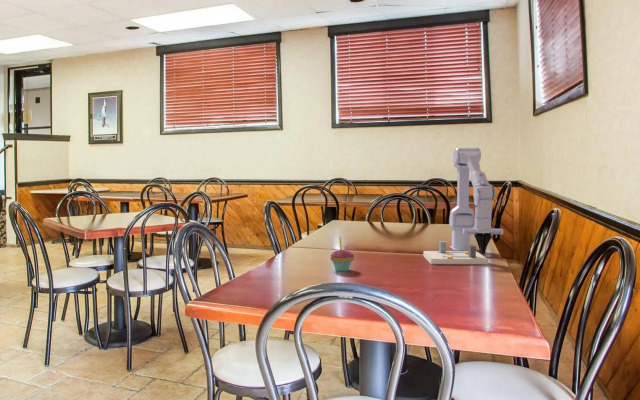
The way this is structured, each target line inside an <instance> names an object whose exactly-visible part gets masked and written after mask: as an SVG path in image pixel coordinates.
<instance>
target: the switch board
mask: <svg viewBox="0 0 640 400" xmlns="http://www.w3.org/2000/svg"><path fill="white" fill-rule="evenodd" d="M422 255H423V257H424V258H425V259H426V260H427V262H428V263H429V264H431V265H489V258H487V256H484V254H481V253H480V252H478V251H477V250H476V257H470V256H468V251H454V250H446V252H440V251H439V250H423V253H422Z"/></svg>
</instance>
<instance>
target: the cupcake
mask: <svg viewBox="0 0 640 400" xmlns="http://www.w3.org/2000/svg"><path fill="white" fill-rule="evenodd" d="M355 259H356V258H355V254H354V253H352V252H351V251H350V250H346V249H343V244H342V237H341V236H339V250H334V251H333V252H332V253H331V254H330V261H331V263H332V264H333V266H334V267H333V268H334V269H335V271H337V272H347V271H349V270H350V267H351V264H352V262H353V261H355Z"/></svg>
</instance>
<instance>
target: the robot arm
mask: <svg viewBox="0 0 640 400" xmlns="http://www.w3.org/2000/svg"><path fill="white" fill-rule="evenodd" d="M481 151H482V150H481V149H480V147H455V149H454V151H453V160H452V161H453V167H454V168H456V169H457V180H456V181H457V183H456V184H457V185H456V186H457V189H456V192H457V193H456V194H457V195H456V206H455V207H453V208H452V209H451V210H450V212H449V216H448V217H449V219H448V223H449V226H450V228H451V229H453V230H452V232H451V245H449V247H448V248H451V249H452V251H468V245H471V236H472V235H473V236H474V238H475V241H476V243H477V246H478V250H479V253H480V254H481V255H485V254H486V252H487V251H486V250H487V247H488V245H489V243H490V241H491V239H492V237H493V236H492V235H504V228H492V213H493V211H492V207H493V205H492V203H493V201H494V199H495V197H496V196H495V195H496V191H495V187H494V185H493V184H491V183H489V180H488V178H487V175H486V173H485V172H484V171H482V170H481V166H480V161H481V157H482V152H481ZM470 173H471V174H470ZM470 182H471V185H472V188H473V201H474V202H473V203H474V206H475V211H474V209H472V208H471V207H470V205H469V204H470V203H469V201H470Z"/></svg>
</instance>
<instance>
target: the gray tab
mask: <svg viewBox="0 0 640 400" xmlns="http://www.w3.org/2000/svg"><path fill="white" fill-rule="evenodd" d="M476 251H477V246H476V245H474V244H470V245H468V256H470V257H476Z"/></svg>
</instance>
